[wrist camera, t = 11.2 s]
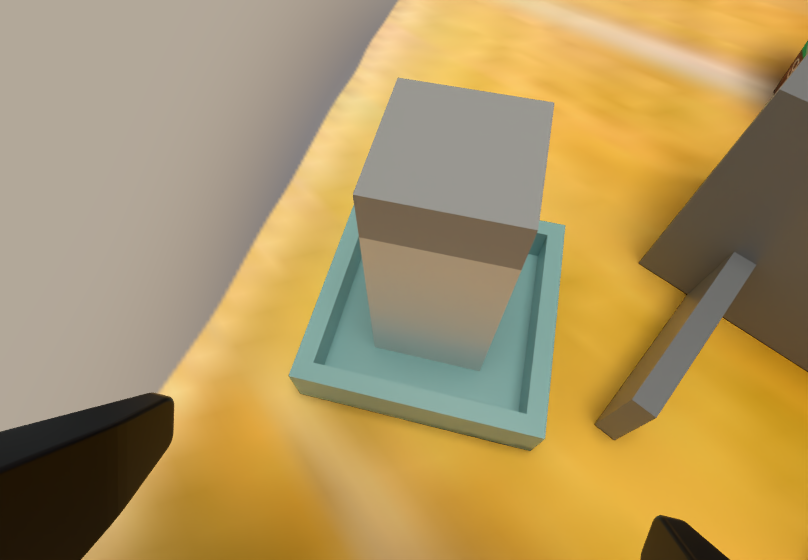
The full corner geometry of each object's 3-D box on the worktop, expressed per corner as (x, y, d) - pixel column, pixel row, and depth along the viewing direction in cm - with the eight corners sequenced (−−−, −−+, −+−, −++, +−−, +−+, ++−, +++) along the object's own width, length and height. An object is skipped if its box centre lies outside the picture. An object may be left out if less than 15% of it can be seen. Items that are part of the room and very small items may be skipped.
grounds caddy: (479, 371, 22) (538, 230, 12) (374, 347, 22) (352, 194, 13) (495, 280, 24) (554, 102, 15) (400, 260, 25) (397, 77, 15)
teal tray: (529, 450, 21) (544, 438, 18) (300, 393, 22) (288, 376, 20) (551, 252, 26) (565, 225, 24) (364, 215, 27) (360, 186, 25)
